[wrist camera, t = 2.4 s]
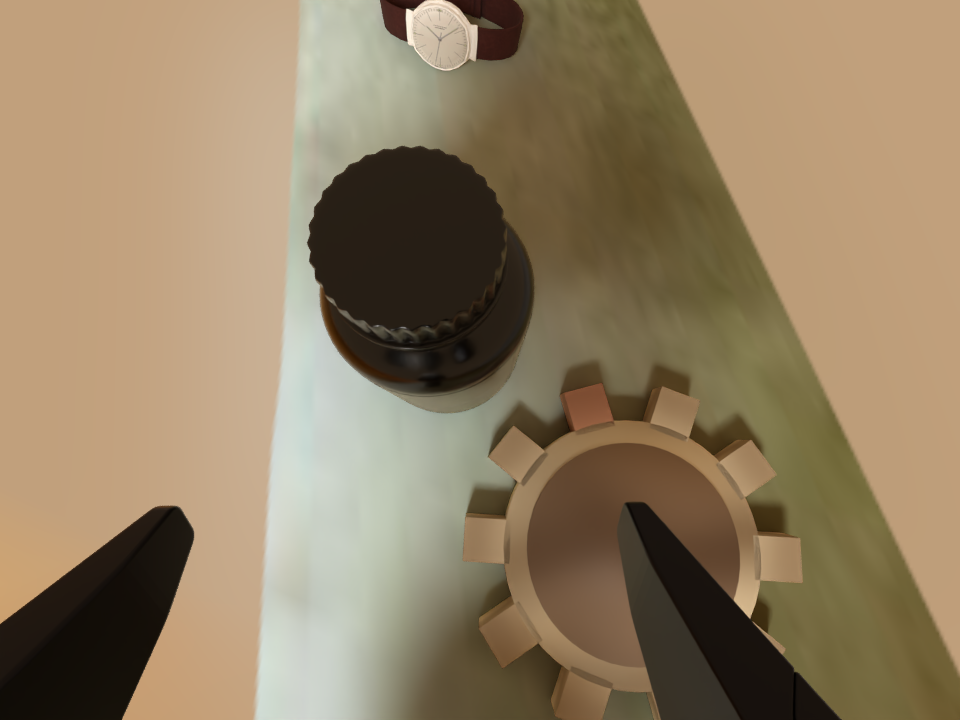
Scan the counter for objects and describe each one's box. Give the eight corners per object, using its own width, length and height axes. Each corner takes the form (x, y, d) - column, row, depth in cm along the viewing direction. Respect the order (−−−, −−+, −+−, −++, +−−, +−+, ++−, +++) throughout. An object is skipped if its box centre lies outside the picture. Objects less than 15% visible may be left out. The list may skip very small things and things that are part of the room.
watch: (375, 58, 26) (357, -4, 22) (400, -10, 26) (387, -81, 23) (508, 91, 25) (512, 33, 22) (530, 20, 26) (537, -47, 22)
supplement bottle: (527, 289, 23) (575, 128, 11) (506, 425, 22) (535, 405, 10) (392, 268, 23) (300, 88, 11) (364, 401, 22) (229, 354, 10)
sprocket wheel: (830, 669, 20) (857, 686, 18) (513, 762, 19) (516, 787, 18) (717, 353, 22) (733, 347, 21) (433, 428, 22) (430, 427, 20)
